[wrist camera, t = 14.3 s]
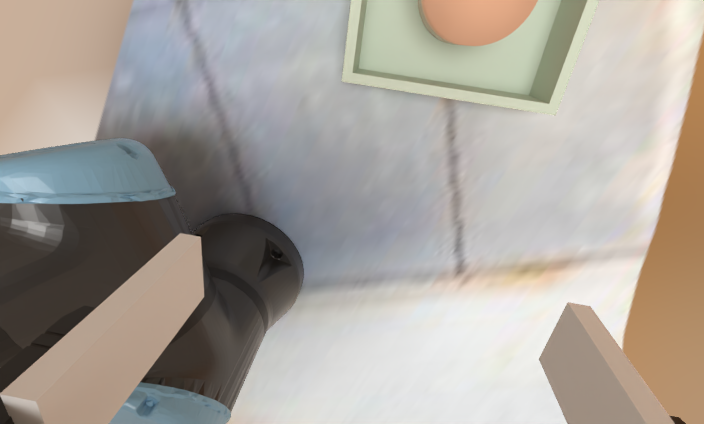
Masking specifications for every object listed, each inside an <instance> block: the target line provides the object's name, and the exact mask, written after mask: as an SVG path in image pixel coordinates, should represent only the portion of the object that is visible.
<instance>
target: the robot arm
mask: <svg viewBox="0 0 704 424" xmlns="http://www.w3.org/2000/svg"><path fill="white" fill-rule="evenodd" d="M175 194H176V192H175V189H174V188H173V187H172V186H170V185H169V183H168V181H167V180H166V178H165V176H164V174H163V172H162V170H161V168H160V166H159V165H158V163H157V161H156V159H155V157H154V155H153V154H152V152H151V151H150V150H149V149H148V148H147V147H146V146H145V145H143V144H142V143H140V142H138V141H135V140H132V139H127V138H114V139H105V140H96V141H90V142H82V143H75V144H69V145H62V146H55V147H48V148H42V149H36V150H30V151H24V152H18V153H12V154H6V155H0V424H226V423H227V422H228V421H229V419H230V417H231V411H232V409H233V406H234V404H235V402H236V399H237V397H238V395H239V392H240V390H241V388H242V386H243V383H244V381H245V379H246V376H247V374H248V372H249V369H250V367H251V365H252V363H253V360H254V358H255V356H256V353H257V351H258V349H259V347H260V344H261V342H262V340H263V338H264V335H265V333H266V331H267V330H268V329H269V328H270V327H271V326H273V325H274V324H275V323H276V322H277V321H278V320H279V319H280V318H281V317H282V316H283V315H284V314H285V313H286V312H287V311H288V310H289V309H290V308H291V307H292V305H293V304H294V302H295V301H296V299H297V296H298V294H299V291H300V289H301V286H302V283H303V265H302V261H301V258H300V255H299V253H298V251H297V249H296V248H295V246H294V245H293V243H292V242H291V241H290V240H289V238H288V237H287V236H286V235H285V234H284V233H283V232H281V231H280V230H279V229H278V228H276V227H275V226H273V225H271V224H270V223H268V222H266V221H264V220H261V219H259V218H256V217H253V216H249V215H243V214H226V215H221V216H217V217H214V218H212V219H210V220H208V221H206V222H205V223H204V224H202V225H201V226H200V227H199V228H198V229H197V230H196V231H195V232H194V233H193V234H192V233H191V231H190V229H189V227H188V225H187V222H186V220H185V218H184V216H183V214H182V212H181V209H180V207H179V205H178V203H177V201H176V198H175V196H174V195H175ZM539 360H540V362H541V365H542V367H543V369H544V372H545V374H546V376H547V378H548V381H549V383H550V385H551V387H552V390H553V392H554V394H555V396H556V399H557V401H558V403H559V405H560V408H561V410H562V412H563V414H564V417H565V419H566V421H567V423H568V424H686V423H685V422H683V421H682V420H681V419H680V418H679V417H674V416H669V415H668V413H667V412H666V411H665V409H664V408H663V407H662V405H661V404H660V402H659V401H658V400H657V398H656V397H655V395H654V394H653V393H652V392H651V390H650V389H649V387H648V386H647V385H646V383H645V382H644V380H643V379H642V377H641V376H640V375H639V373H638V372H637V371H636V369H635V368H634V366H633V365H632V364H631V362H630V361H629V359H628V358H627V357H626V356H625V354H624V353H623V351H622V350H621V348H620V347H619V346H618V344H617V343H616V341H615V340H614V339H613V337H612V336H611V335H610V333H609V332H608V330H607V329H606V328H605V326H604V325H603V323H602V322H601V321H600V319H599V318H598V317H597V315H596V314H595V312H594V311H593V310H592V308H591V307H590V306H585V305H579V304H574V303H567V305H566V307H565V309H564V311H563V313H562V315H561V317H560V319H559V321H558V323H557V325H556V327H555V329H554V331H553V333H552V334H551V336H550V338H549V340H548V342H547V344H546V346H545V348H544V350H543V352H542V354H541V356H540V358H539Z"/></svg>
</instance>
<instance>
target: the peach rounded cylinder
mask: <svg viewBox="0 0 704 424" xmlns="http://www.w3.org/2000/svg"><path fill="white" fill-rule="evenodd" d="M537 1H538V0H418V10H419V14H420V17H421V20H422V22H423V24H424V26H425V27H426V29H427V30H428V31H429V32H430V33H431V35H433V36H434V37H435V38H436V39H438V40H440V41H442V42H445V43H448V44H453V45H466V46H483V45H488V44H491V43H494V42H497V41H499V40H501V39H503V38H505V37H507V36H508V35H510V34H511V33H512V32H514V31H515V30H516V29H517V28H518V27H519V26H520V25H521V24H522V23H523V22H524V21H525V20H526V19H527V18H528V16H529V15H530V13H531V12H532V10H533V9H534V7H535V5H536V3H537Z"/></svg>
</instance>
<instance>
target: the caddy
mask: <svg viewBox="0 0 704 424" xmlns="http://www.w3.org/2000/svg"><path fill="white" fill-rule="evenodd" d="M598 3H599V0H538V1H537V3H536V5H535V7H534V9H533V10H532V12H531V13H530V15H529V16H528V18H527V19H526V20H525V21H524V22H523V23H522V24H521V25H520V26H519V27H518V28H517V29H516V30H515V31H514V32H512V33H511V34H510V35H508V36H507V37H505V38H503V39H501V40H499V41H497V42H494V43H491V44H488V45H483V46H466V45H453V44H448V43H445V42H442V41H440V40H438V39H436V38H435V37H434V36H433V35H431V33H430V32H429V31H428V30H427V29H426V27H425V26H424V24H423V22H422V20H421V17H420V14H419V10H418V0H351V5H350V14H349V22H348V31H347V39H346V48H345V56H344V65H343V73H342V82H347V83H354V84H360V85H366V86H373V87H379V88H385V89H391V90H398V91H404V92H410V93H417V94H423V95H429V96H436V97H442V98H448V99H454V100H461V101H467V102H473V103H480V104H486V105H492V106H499V107H505V108H511V109H517V110H524V111H530V112H536V113H543V114H549V115H555V116H556V113H557V110H558V108H559V105H560V103H561V100H562V97H563V95H564V92H565V89H566V87H567V84H568V82H569V79H570V76H571V74H572V71H573V68H574V66H575V63H576V61H577V58H578V55H579V53H580V50H581V47H582V45H583V42H584V40H585V37H586V34H587V32H588V29H589V26H590V24H591V21H592V19H593V16H594V13H595V11H596V8H597V5H598Z"/></svg>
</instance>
